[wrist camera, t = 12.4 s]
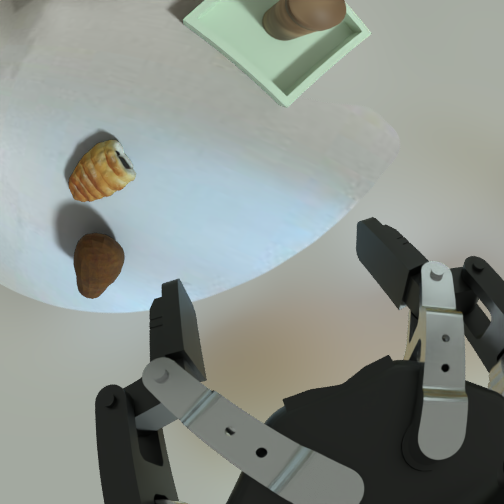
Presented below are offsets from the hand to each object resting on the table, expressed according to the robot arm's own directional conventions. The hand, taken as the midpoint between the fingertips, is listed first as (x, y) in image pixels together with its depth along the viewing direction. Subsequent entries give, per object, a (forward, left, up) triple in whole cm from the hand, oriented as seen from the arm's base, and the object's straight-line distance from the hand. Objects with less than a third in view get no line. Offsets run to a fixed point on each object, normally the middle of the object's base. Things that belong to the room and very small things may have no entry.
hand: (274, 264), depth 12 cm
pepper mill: (-5, +16, -25) cm, 31 cm away
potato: (-3, -23, -26) cm, 35 cm away
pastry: (-9, -12, -27) cm, 31 cm away
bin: (-5, +16, -26) cm, 31 cm away
